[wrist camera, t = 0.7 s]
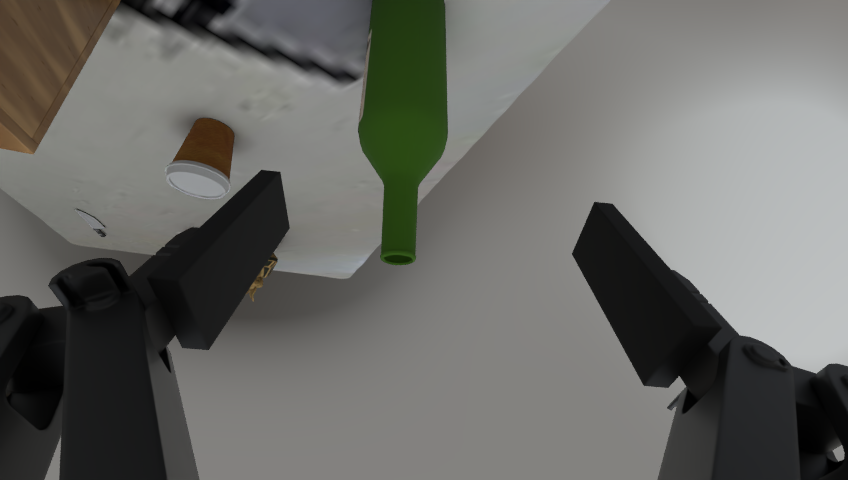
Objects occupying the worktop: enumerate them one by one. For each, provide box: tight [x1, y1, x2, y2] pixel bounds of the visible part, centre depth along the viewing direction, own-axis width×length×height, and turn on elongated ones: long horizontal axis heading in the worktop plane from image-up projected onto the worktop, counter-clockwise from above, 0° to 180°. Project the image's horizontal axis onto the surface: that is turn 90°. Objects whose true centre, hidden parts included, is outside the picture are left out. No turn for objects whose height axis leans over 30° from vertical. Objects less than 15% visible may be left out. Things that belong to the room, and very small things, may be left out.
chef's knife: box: [75, 209, 106, 237], centre depth 98 cm, size 19×1×3 cm
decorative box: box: [246, 253, 278, 301], centre depth 103 cm, size 20×10×20 cm, turn 149°
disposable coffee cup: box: [165, 118, 234, 199], centre depth 59 cm, size 10×10×12 cm
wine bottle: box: [358, 0, 448, 265], centre depth 35 cm, size 9×9×32 cm
